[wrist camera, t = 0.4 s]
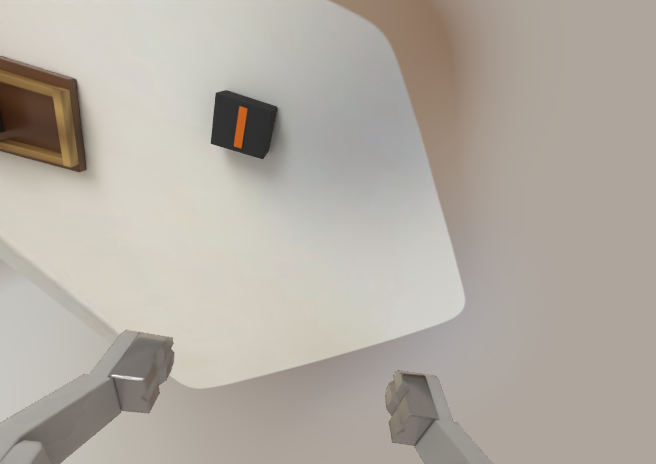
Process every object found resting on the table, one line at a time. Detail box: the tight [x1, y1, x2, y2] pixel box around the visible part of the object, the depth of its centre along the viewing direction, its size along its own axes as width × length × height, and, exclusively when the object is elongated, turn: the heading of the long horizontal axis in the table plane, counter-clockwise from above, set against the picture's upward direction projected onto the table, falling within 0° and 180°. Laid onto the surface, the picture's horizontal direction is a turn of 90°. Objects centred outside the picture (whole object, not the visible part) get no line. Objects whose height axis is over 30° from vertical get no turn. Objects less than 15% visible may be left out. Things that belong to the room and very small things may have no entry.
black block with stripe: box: [211, 90, 277, 159], centre depth 30 cm, size 5×6×3 cm
